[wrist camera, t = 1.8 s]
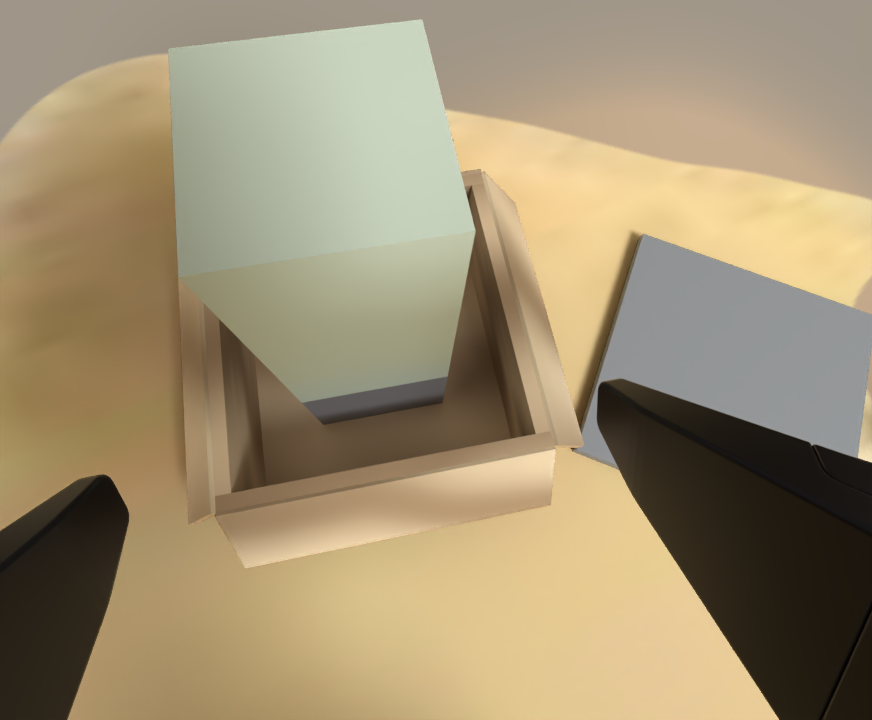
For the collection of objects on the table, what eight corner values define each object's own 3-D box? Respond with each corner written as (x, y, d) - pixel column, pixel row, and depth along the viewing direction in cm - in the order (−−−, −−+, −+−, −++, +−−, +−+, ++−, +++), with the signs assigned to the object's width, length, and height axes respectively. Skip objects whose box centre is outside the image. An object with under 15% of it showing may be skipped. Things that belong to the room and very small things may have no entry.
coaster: (832, 554, 20) (845, 555, 19) (572, 451, 21) (576, 449, 20) (864, 321, 23) (875, 315, 23) (638, 240, 24) (643, 233, 24)
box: (442, 402, 21) (475, 230, 9) (323, 425, 20) (178, 276, 8) (420, 296, 22) (422, 19, 10) (309, 314, 22) (167, 48, 10)
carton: (580, 497, 20) (624, 490, 16) (215, 573, 19) (154, 589, 15) (498, 197, 25) (515, 128, 20) (196, 242, 23) (145, 178, 19)
